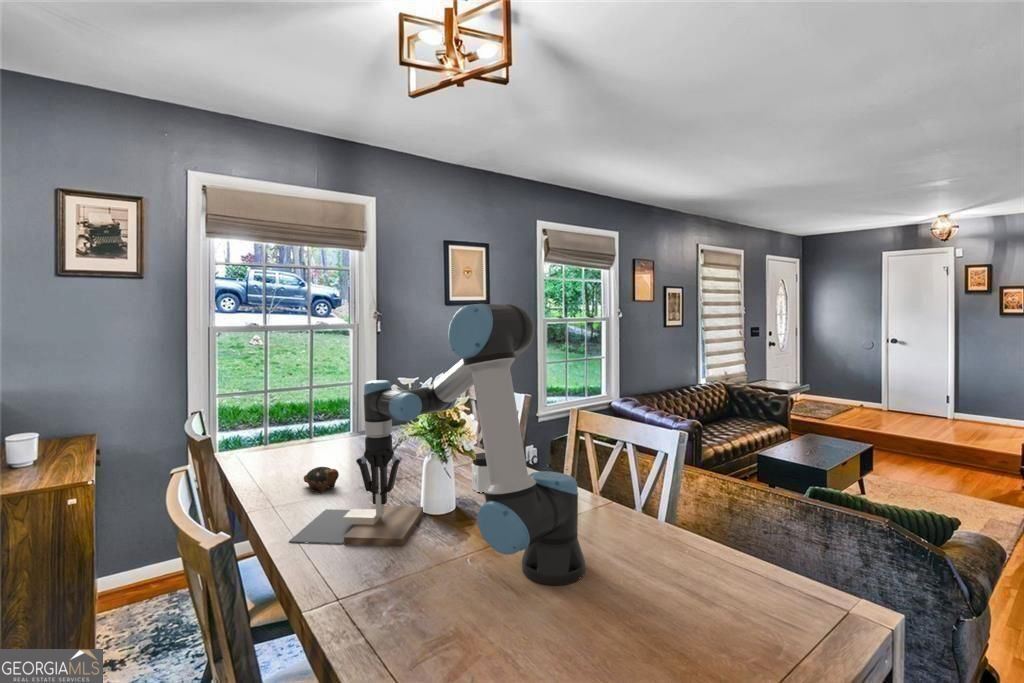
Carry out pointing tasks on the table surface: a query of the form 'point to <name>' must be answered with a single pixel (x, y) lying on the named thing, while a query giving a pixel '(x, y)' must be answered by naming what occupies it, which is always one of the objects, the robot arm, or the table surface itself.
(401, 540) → the serving board
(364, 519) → the cream rectangular block
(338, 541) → the place mat
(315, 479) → the decorative turtle
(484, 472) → the jar
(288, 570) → the table surface
